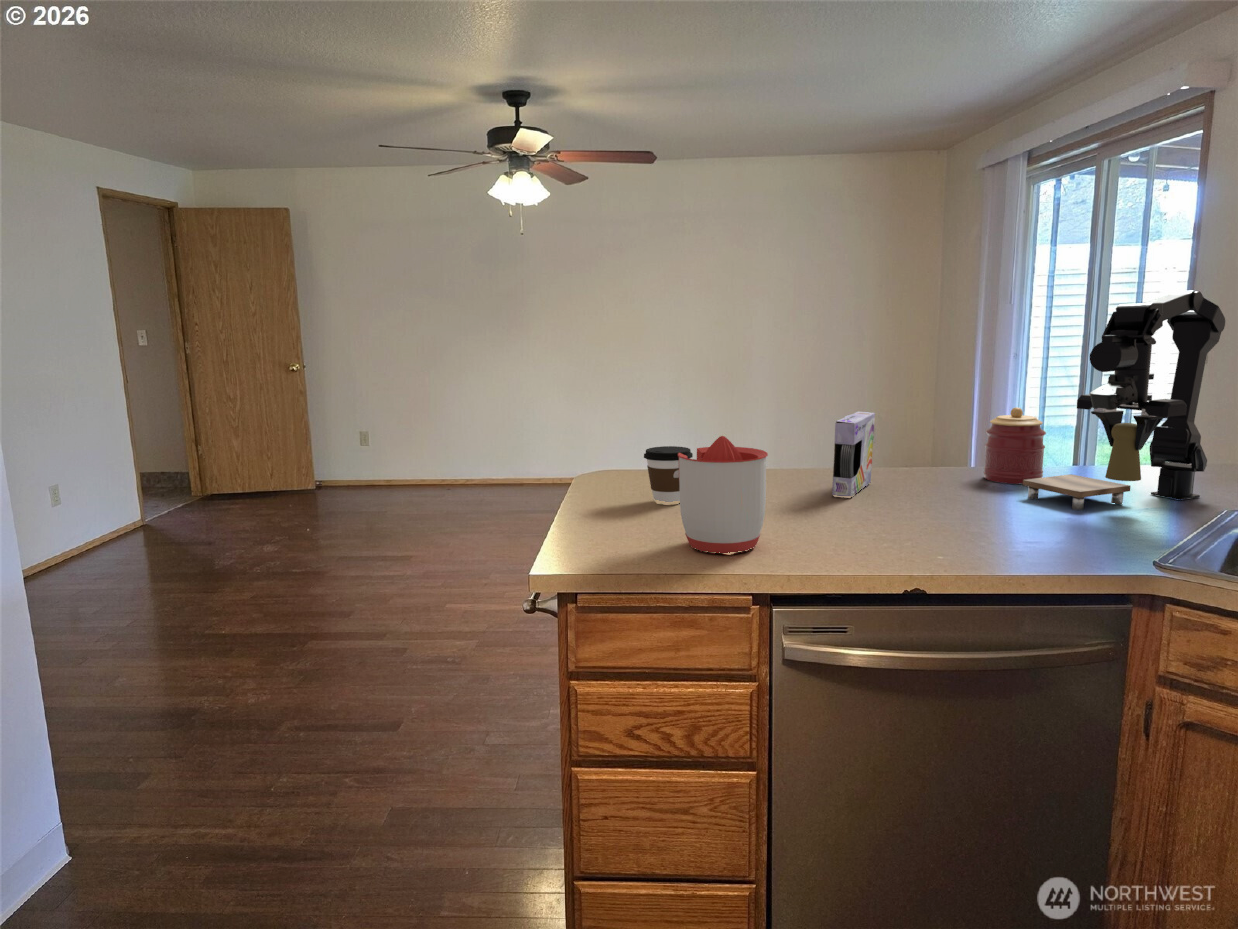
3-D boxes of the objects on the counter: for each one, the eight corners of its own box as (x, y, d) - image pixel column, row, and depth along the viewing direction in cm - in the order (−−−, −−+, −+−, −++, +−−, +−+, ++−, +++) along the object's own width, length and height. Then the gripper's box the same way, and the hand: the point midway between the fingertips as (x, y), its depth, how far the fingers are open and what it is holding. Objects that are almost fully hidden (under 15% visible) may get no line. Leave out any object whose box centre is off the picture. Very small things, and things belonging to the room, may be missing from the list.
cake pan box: (851, 500, 173) (853, 421, 170) (829, 498, 175) (830, 420, 172) (873, 484, 189) (875, 411, 186) (852, 483, 191) (854, 411, 188)
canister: (1044, 477, 192) (1049, 405, 189) (1040, 486, 182) (1045, 411, 178) (986, 473, 199) (990, 403, 196) (979, 482, 188) (983, 409, 185)
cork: (1146, 481, 152) (1151, 425, 150) (1112, 481, 153) (1117, 425, 152) (1132, 475, 158) (1137, 421, 156) (1100, 475, 159) (1104, 421, 157)
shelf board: (1070, 479, 175) (1071, 474, 175) (1130, 491, 162) (1130, 485, 162) (1022, 485, 170) (1023, 479, 170) (1079, 497, 157) (1080, 491, 157)
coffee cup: (675, 510, 168) (675, 455, 166) (634, 504, 174) (633, 451, 172) (702, 500, 176) (702, 448, 174) (662, 495, 183) (661, 444, 181)
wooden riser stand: (1070, 492, 175) (1071, 480, 174) (1124, 504, 163) (1126, 491, 162) (1025, 498, 171) (1026, 485, 170) (1078, 510, 159) (1079, 497, 158)
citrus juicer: (701, 529, 151) (701, 427, 148) (783, 543, 140) (784, 433, 137) (653, 548, 139) (651, 437, 136) (737, 565, 128) (738, 444, 125)
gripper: (1059, 369, 158) (1054, 445, 161) (1150, 373, 141) (1143, 458, 143) (1099, 366, 162) (1093, 441, 165) (1192, 370, 145) (1184, 453, 147)
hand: (1125, 448), depth 155 cm, fingers closed on cork, 5 cm apart
